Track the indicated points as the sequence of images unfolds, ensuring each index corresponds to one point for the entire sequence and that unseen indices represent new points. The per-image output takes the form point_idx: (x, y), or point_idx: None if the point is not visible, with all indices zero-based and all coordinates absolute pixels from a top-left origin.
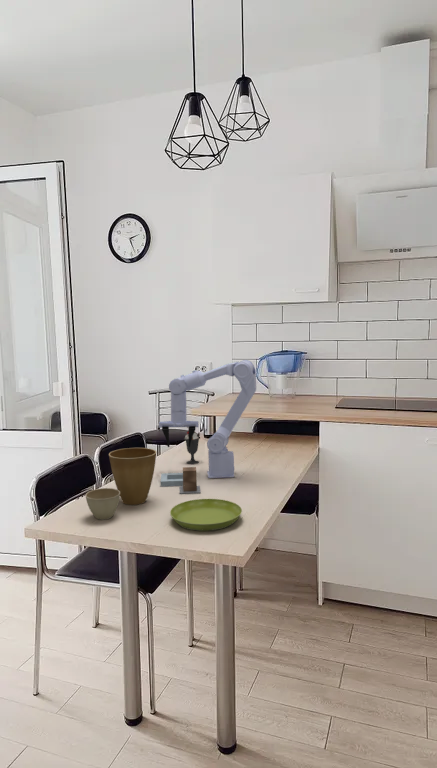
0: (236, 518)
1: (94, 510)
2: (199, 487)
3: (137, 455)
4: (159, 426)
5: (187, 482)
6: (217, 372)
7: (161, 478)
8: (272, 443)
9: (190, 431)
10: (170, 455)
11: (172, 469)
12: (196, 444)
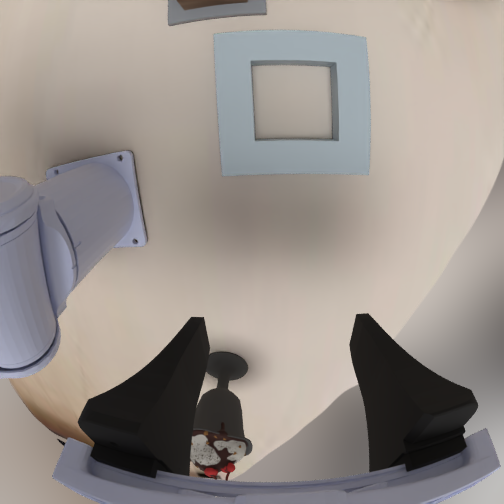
0: None
1: None
2: (170, 4)
3: None
4: (487, 438)
5: None
6: None
7: (366, 84)
8: (79, 426)
9: (133, 407)
10: (298, 418)
11: (304, 299)
12: (196, 415)
